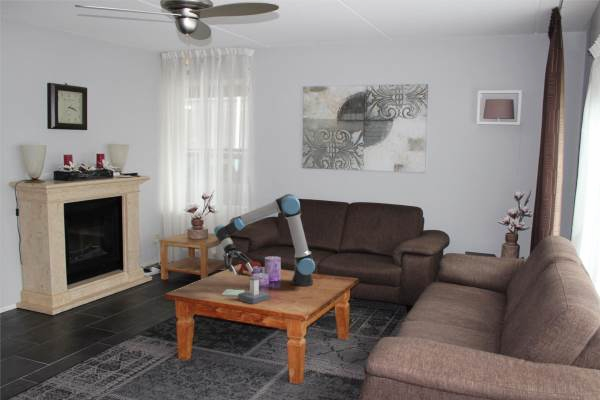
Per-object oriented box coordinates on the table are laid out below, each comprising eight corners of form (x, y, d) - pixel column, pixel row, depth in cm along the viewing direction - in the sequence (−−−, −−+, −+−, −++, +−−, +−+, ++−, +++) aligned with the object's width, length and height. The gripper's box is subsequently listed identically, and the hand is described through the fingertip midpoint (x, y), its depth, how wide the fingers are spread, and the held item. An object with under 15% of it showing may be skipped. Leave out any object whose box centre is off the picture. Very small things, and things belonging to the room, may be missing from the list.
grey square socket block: (254, 295, 339) (254, 289, 339) (269, 299, 330) (270, 294, 329) (238, 299, 329) (238, 293, 328) (253, 304, 319) (253, 298, 319)
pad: (244, 291, 346) (244, 290, 346) (239, 296, 334) (239, 295, 334) (226, 290, 348) (226, 289, 348) (221, 295, 336) (221, 294, 336)
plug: (254, 298, 332) (254, 276, 331) (259, 299, 329) (259, 277, 328) (248, 299, 329) (249, 277, 328) (253, 301, 326) (254, 278, 325)
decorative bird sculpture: (255, 283, 384) (266, 266, 389) (247, 276, 379) (259, 259, 384) (234, 275, 405) (245, 260, 411) (226, 268, 400) (238, 253, 406)
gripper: (240, 247, 353) (255, 273, 345) (210, 252, 335) (225, 280, 327) (245, 240, 349) (261, 267, 341) (215, 245, 331) (231, 273, 323)
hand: (243, 273), depth 334 cm, fingers open, 13 cm apart
